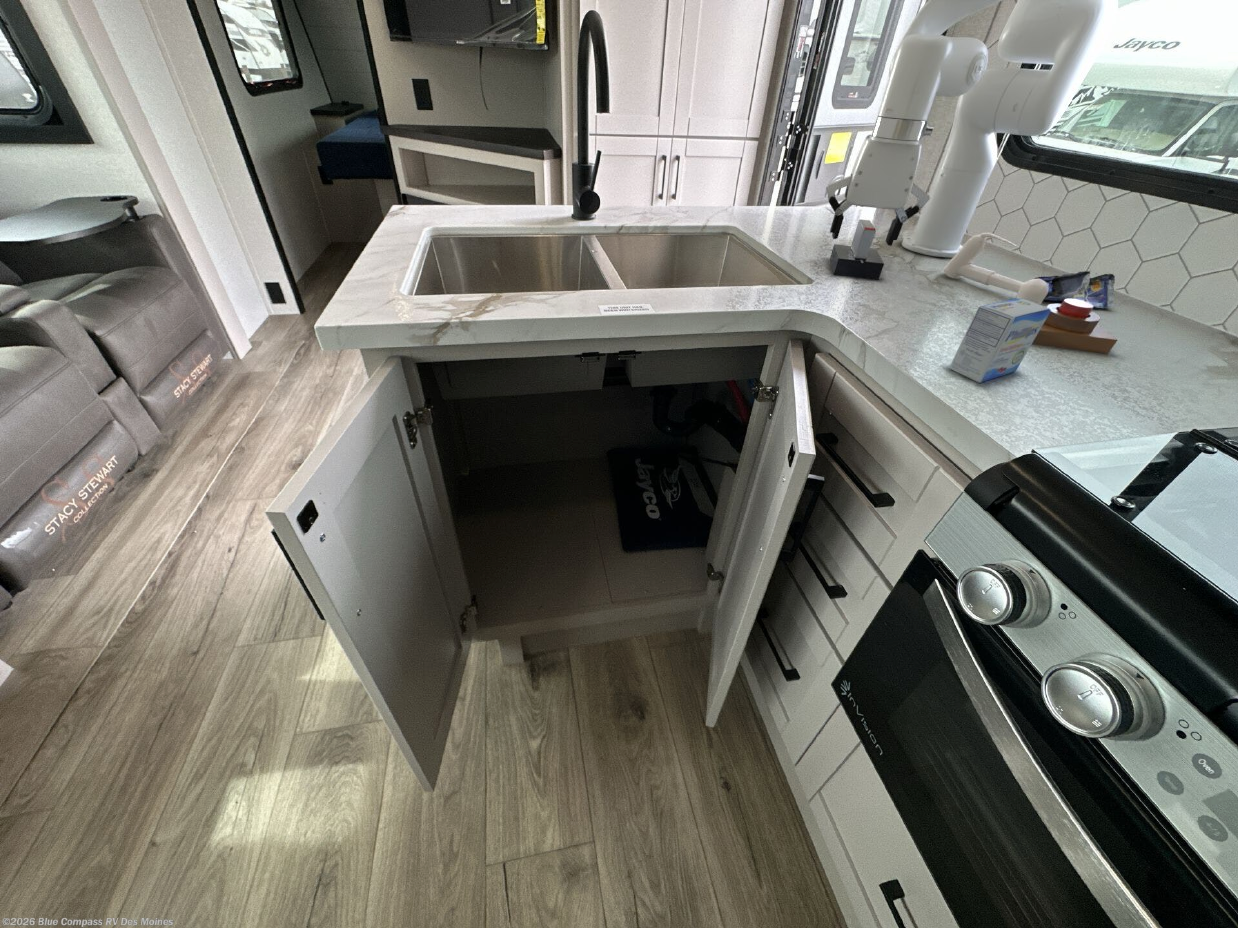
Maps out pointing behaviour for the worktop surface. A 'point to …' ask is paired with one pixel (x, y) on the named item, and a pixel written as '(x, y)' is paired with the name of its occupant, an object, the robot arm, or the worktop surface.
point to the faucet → (963, 267)
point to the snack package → (1082, 288)
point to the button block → (1074, 332)
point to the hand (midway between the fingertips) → (861, 240)
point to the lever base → (855, 263)
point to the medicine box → (998, 339)
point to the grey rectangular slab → (863, 239)
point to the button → (1075, 308)
